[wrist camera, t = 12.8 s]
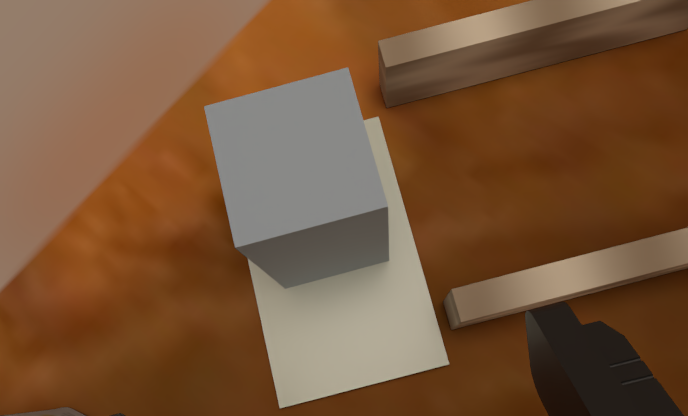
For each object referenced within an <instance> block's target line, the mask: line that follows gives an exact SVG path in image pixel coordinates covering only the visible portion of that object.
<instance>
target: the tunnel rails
mask: <svg viewBox="0 0 688 416" xmlns="http://www.w3.org/2000/svg"><path fill="white" fill-rule="evenodd" d="M686 29H688V0H532V1H528V2H524V3H521V4H517V5H513V6H509V7H505V8H502V9H498V10H494V11H490V12H486V13H483V14H479V15H475V16H471V17H467V18H464V19H460V20H456V21H452V22H449V23H445V24H441V25H437V26H433V27H430V28H426V29H422V30H418V31H414V32H411V33H407V34H403V35H399V36H395V37H392V38H388V39H384V40H380V41H378V54H379V79H380V87H381V91H382V94H383V98H384V101H385V104H386V108H389V107H393V106H397V105H400V104H404V103H408V102H412V101H416V100H419V99H423V98H427V97H431V96H435V95H439V94H442V93H446V92H450V91H454V90H458V89H461V88H465V87H469V86H473V85H477V84H480V83H484V82H488V81H492V80H496V79H499V78H503V77H507V76H511V75H515V74H518V73H522V72H526V71H530V70H534V69H537V68H541V67H545V66H549V65H553V64H557V63H560V62H564V61H568V60H572V59H576V58H579V57H583V56H587V55H591V54H595V53H598V52H602V51H606V50H610V49H614V48H617V47H621V46H625V45H629V44H633V43H636V42H640V41H644V40H648V39H652V38H655V37H659V36H663V35H667V34H671V33H675V32H678V31H682V30H686ZM687 268H688V228H684V229H680V230H677V231H673V232H669V233H665V234H661V235H657V236H654V237H650V238H646V239H642V240H638V241H634V242H631V243H627V244H623V245H619V246H615V247H611V248H608V249H604V250H600V251H596V252H592V253H588V254H585V255H581V256H577V257H573V258H569V259H565V260H562V261H558V262H554V263H550V264H546V265H542V266H539V267H535V268H531V269H527V270H523V271H519V272H516V273H512V274H508V275H504V276H500V277H496V278H493V279H489V280H485V281H481V282H477V283H473V284H470V285H466V286H462V287H458V288H454V289H451V291H450V292H449V294H448V295H447V296H446V298H445V299H444V301H443V304H444V307H445V311H446V314H447V317H448V321H449V324H450V328H451V330H453V329H457V328H461V327H464V326H468V325H472V324H476V323H480V322H484V321H487V320H491V319H495V318H499V317H503V316H507V315H510V314H514V313H518V312H522V311H526V310H530V309H533V308H537V307H541V306H545V305H549V304H553V303H556V302H560V301H564V300H568V299H572V298H576V297H579V296H583V295H587V294H591V293H595V292H599V291H602V290H606V289H610V288H614V287H618V286H622V285H626V284H629V283H633V282H637V281H641V280H645V279H649V278H652V277H656V276H660V275H664V274H668V273H672V272H675V271H679V270H683V269H687Z"/></svg>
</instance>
